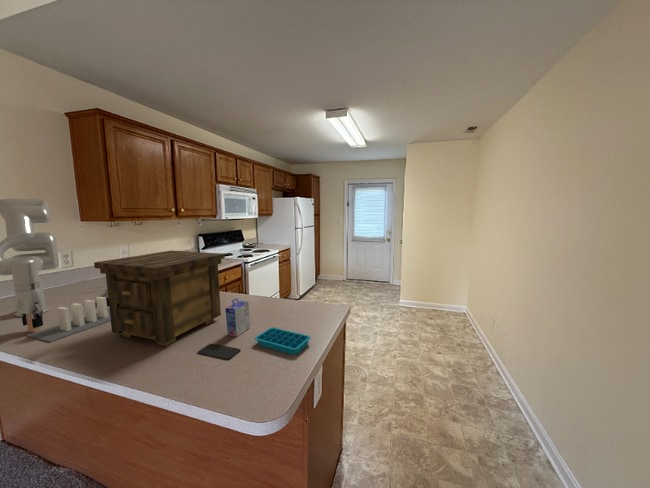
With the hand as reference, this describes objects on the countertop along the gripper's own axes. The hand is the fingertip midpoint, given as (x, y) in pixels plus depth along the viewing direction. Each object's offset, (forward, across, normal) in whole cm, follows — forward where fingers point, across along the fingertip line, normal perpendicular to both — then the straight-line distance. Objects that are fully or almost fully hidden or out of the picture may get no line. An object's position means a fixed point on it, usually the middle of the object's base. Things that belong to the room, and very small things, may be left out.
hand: (33, 325), depth 117 cm
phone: (+3, +92, +12) cm, 93 cm away
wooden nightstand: (+3, +56, +22) cm, 60 cm away
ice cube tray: (+3, +112, +25) cm, 115 cm away
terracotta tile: (+3, 0, 0) cm, 3 cm away
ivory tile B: (+2, +13, +15) cm, 20 cm away
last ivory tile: (+2, +13, +5) cm, 14 cm away
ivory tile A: (+2, +13, +20) cm, 24 cm away
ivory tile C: (+2, +13, +10) cm, 17 cm away
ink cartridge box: (+3, +88, +29) cm, 93 cm away
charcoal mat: (+3, +12, +12) cm, 18 cm away
